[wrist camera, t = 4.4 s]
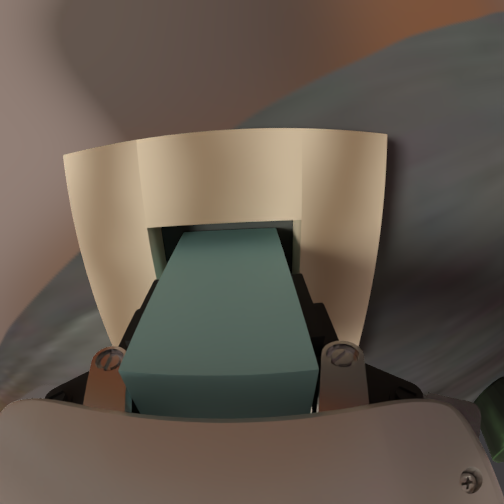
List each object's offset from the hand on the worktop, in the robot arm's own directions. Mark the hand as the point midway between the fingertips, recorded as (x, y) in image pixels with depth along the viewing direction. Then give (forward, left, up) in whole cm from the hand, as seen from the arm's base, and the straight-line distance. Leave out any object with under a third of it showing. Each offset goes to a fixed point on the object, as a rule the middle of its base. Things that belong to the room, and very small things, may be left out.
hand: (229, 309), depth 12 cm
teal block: (0, 0, -3) cm, 3 cm away
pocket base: (0, 0, -3) cm, 3 cm away
